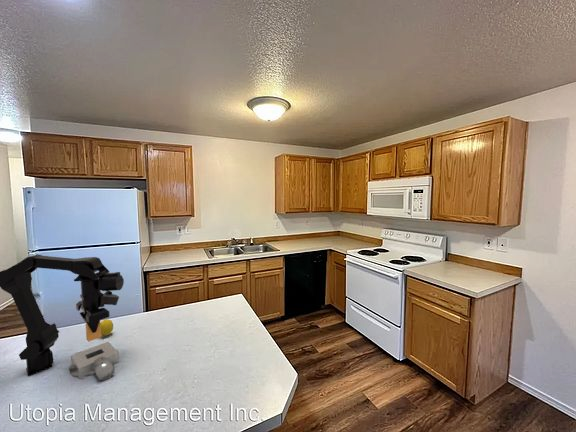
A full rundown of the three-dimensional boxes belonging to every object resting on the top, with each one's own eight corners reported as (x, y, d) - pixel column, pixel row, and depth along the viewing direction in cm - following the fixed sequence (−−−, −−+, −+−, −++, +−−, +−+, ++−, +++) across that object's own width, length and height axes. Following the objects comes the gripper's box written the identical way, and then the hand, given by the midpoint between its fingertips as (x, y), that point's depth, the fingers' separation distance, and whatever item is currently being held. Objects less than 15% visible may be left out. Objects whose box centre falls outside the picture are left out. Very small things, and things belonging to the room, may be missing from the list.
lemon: (101, 340, 112) (100, 323, 112) (97, 336, 116) (96, 319, 115) (115, 335, 117) (114, 318, 116) (111, 331, 120) (110, 315, 119)
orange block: (88, 341, 94) (87, 321, 93) (86, 339, 95) (85, 319, 95) (101, 337, 97) (100, 317, 96) (99, 335, 98) (98, 315, 98)
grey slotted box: (79, 392, 82) (78, 378, 82) (65, 365, 96) (64, 353, 95) (130, 368, 94) (130, 355, 93) (111, 347, 107) (111, 336, 107)
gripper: (124, 290, 95) (126, 330, 96) (108, 280, 107) (110, 316, 108) (87, 300, 87) (90, 343, 88) (74, 288, 98) (77, 326, 99)
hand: (93, 331), depth 96 cm, fingers closed on orange block, 2 cm apart
